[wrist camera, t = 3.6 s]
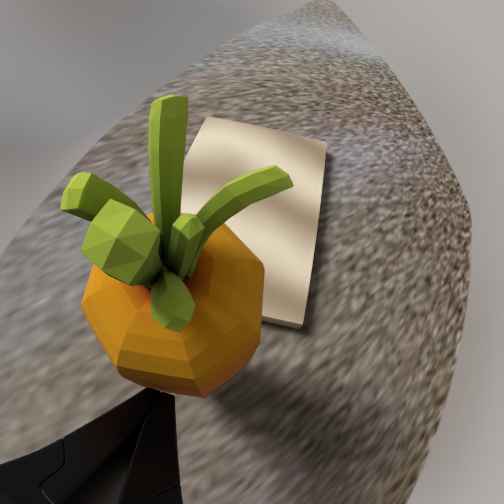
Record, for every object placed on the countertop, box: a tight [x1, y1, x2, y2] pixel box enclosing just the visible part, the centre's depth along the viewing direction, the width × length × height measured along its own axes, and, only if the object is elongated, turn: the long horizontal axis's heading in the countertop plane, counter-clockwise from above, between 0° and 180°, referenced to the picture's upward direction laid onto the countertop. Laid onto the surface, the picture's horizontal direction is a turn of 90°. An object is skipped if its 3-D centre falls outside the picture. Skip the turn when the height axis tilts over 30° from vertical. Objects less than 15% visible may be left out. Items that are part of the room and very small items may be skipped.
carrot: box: [60, 95, 294, 398], centre depth 10 cm, size 5×5×15 cm
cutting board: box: [181, 117, 327, 329], centre depth 21 cm, size 15×10×1 cm, turn 168°
